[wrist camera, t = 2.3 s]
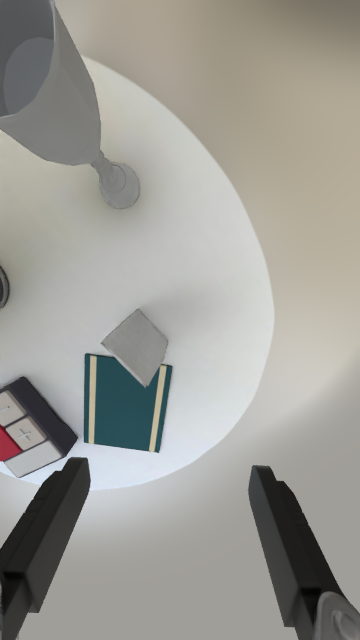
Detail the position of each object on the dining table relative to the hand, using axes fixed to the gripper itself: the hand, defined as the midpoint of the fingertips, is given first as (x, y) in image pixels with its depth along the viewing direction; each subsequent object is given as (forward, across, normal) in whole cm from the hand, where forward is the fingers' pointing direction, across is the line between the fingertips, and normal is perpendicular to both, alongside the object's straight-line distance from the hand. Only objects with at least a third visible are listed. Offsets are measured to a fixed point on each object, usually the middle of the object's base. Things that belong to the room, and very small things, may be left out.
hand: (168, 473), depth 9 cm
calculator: (+21, +26, +18) cm, 39 cm away
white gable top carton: (+21, +5, 0) cm, 22 cm away
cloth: (+21, +9, +14) cm, 27 cm away
